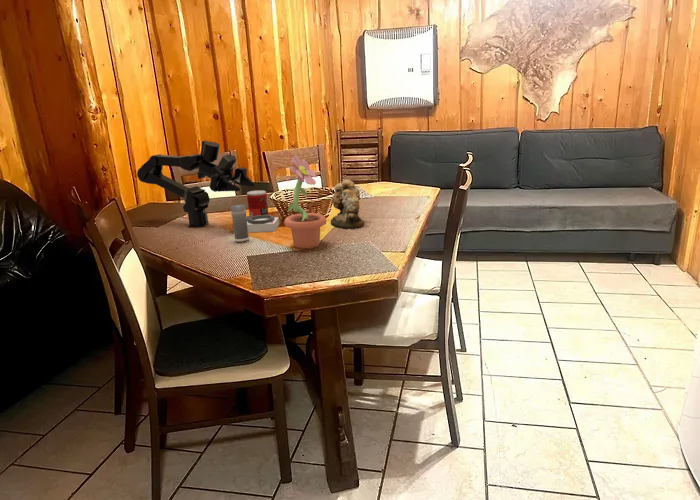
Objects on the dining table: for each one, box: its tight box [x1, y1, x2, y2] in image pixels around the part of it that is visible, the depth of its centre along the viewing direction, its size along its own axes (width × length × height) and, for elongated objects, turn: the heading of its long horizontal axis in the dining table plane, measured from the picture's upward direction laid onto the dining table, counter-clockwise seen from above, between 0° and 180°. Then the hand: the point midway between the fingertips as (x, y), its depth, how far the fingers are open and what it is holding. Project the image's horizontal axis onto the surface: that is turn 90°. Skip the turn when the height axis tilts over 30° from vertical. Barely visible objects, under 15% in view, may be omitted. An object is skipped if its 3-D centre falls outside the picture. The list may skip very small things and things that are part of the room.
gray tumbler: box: [230, 204, 250, 244], centre depth 174 cm, size 5×5×12 cm
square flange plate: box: [246, 214, 280, 233], centre depth 190 cm, size 13×10×4 cm
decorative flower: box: [283, 154, 327, 250], centre depth 162 cm, size 15×14×30 cm
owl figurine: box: [330, 179, 365, 230], centre depth 190 cm, size 18×12×17 cm, turn 26°
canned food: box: [246, 189, 269, 217], centre depth 206 cm, size 8×8×11 cm
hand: (247, 187), depth 186 cm, fingers open, 9 cm apart
